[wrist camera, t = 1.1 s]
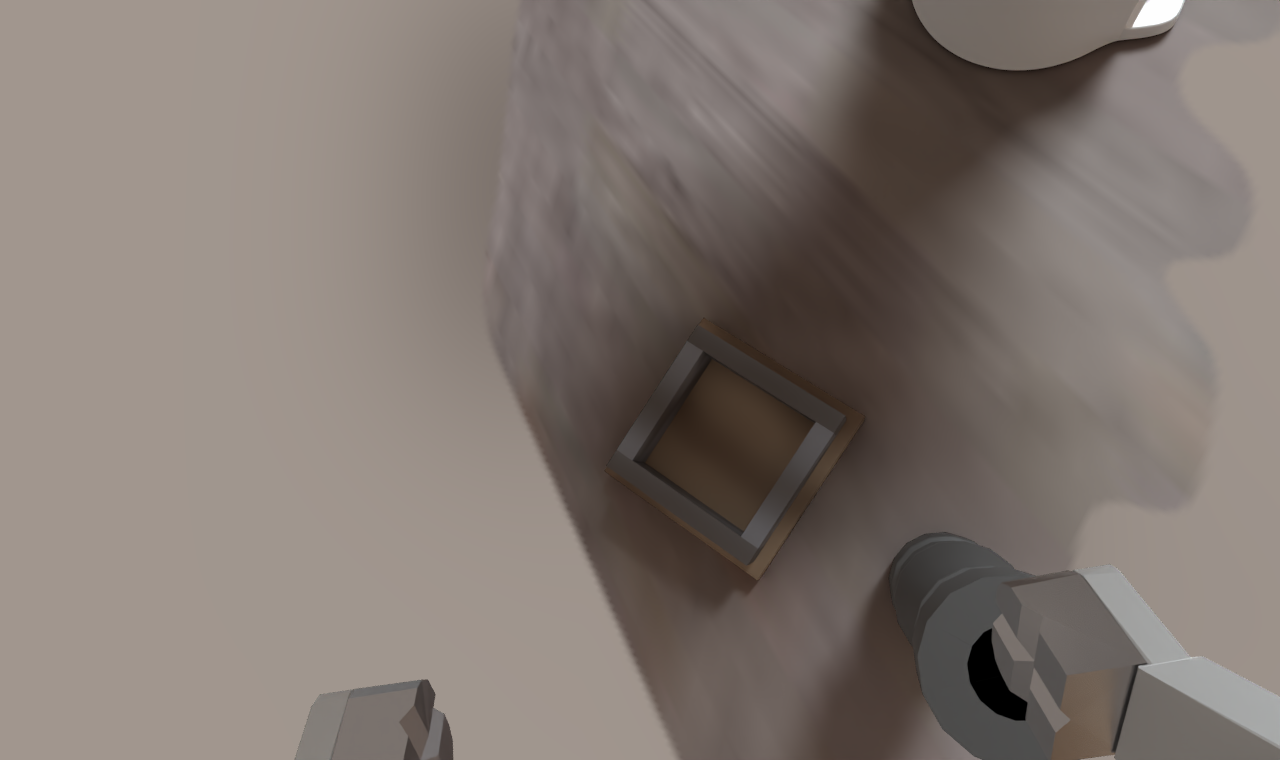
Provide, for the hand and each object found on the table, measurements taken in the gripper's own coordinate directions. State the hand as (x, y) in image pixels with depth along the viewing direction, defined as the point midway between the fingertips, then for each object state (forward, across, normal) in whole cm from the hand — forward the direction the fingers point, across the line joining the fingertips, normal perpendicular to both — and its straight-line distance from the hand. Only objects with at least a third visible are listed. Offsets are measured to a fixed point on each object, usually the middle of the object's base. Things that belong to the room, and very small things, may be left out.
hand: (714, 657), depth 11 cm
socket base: (+34, -4, +22) cm, 41 cm away
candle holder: (+26, -15, +29) cm, 41 cm away
